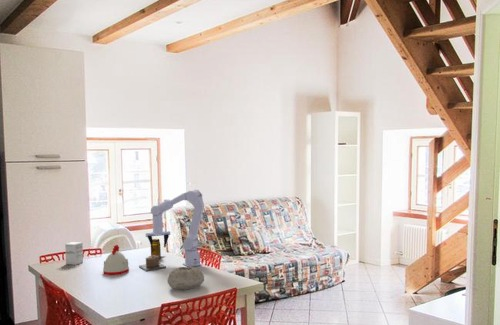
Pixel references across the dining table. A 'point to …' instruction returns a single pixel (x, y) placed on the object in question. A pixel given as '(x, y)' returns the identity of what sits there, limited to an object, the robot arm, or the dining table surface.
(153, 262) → the taped cardboard box
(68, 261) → the supplement box
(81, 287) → the dining table surface
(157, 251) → the condiment
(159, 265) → the hub plate
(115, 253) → the kitchen timer
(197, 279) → the grey stone
